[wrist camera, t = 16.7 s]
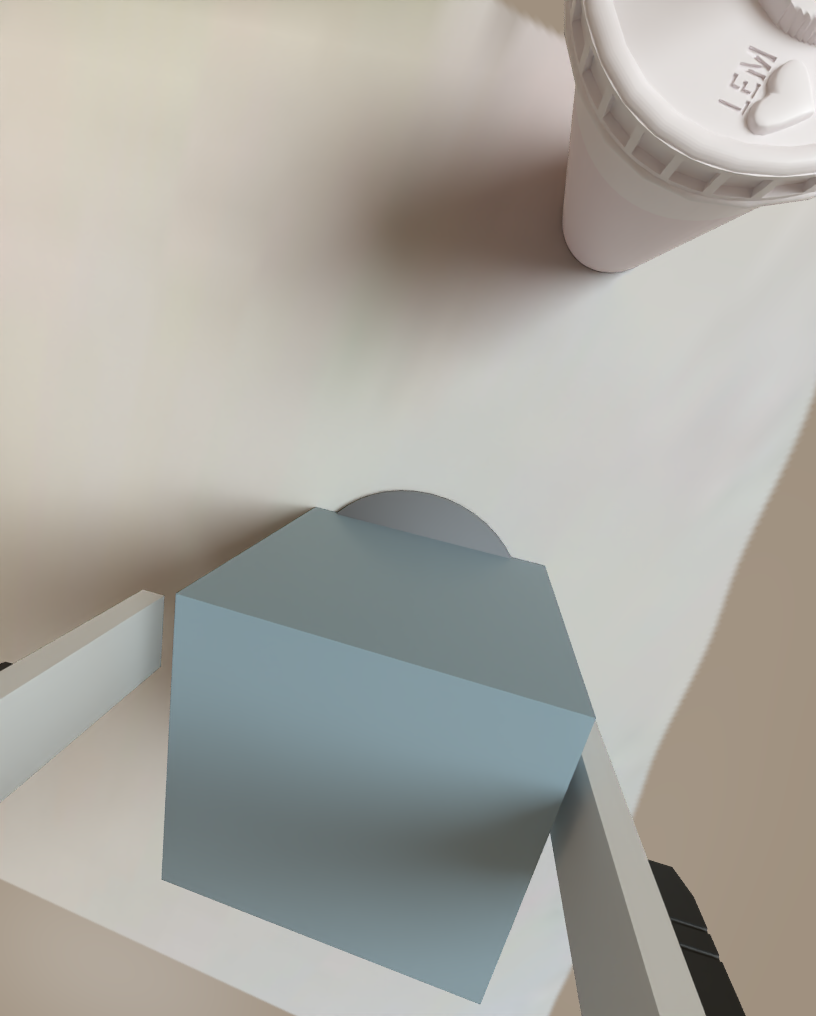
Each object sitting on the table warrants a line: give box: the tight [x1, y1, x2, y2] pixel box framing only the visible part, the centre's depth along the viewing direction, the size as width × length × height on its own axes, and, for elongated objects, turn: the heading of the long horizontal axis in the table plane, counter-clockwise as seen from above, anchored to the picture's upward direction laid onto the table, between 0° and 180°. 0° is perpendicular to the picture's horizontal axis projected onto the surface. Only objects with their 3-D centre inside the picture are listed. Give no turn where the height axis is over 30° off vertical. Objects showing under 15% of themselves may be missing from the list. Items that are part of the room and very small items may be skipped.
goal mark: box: [336, 490, 511, 559], centre depth 19 cm, size 10×10×1 cm
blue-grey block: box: [162, 507, 596, 1004], centre depth 15 cm, size 10×10×9 cm
